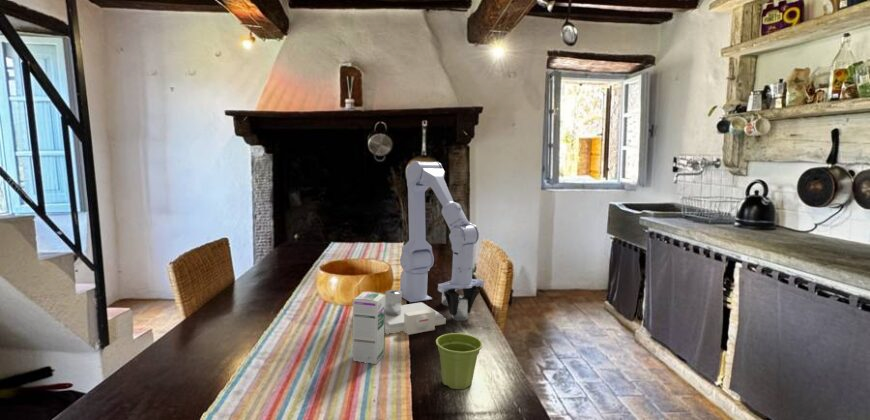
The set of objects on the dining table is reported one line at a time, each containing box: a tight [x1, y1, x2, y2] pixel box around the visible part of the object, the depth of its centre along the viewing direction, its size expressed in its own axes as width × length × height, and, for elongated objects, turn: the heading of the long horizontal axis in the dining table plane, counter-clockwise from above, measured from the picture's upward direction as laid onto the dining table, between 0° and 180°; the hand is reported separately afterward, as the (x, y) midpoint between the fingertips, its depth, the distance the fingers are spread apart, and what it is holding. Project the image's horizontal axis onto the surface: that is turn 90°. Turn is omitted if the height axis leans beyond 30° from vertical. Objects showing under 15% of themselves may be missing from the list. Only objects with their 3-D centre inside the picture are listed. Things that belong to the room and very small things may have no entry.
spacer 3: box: [451, 294, 469, 322], centre depth 127 cm, size 4×4×6 cm
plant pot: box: [435, 332, 483, 390], centre depth 91 cm, size 9×9×9 cm
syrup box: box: [352, 291, 386, 365], centre depth 100 cm, size 6×6×14 cm
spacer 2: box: [441, 290, 457, 307], centre depth 140 cm, size 4×4×6 cm
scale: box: [385, 301, 447, 336], centre depth 122 cm, size 15×18×5 cm
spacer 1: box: [385, 289, 403, 316], centre depth 122 cm, size 4×4×6 cm
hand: (459, 313), depth 128 cm, fingers closed on spacer 3, 4 cm apart
